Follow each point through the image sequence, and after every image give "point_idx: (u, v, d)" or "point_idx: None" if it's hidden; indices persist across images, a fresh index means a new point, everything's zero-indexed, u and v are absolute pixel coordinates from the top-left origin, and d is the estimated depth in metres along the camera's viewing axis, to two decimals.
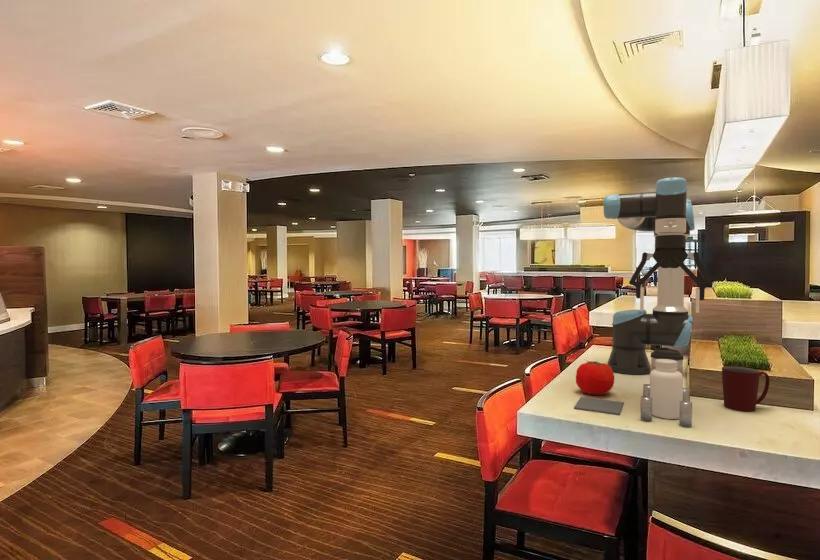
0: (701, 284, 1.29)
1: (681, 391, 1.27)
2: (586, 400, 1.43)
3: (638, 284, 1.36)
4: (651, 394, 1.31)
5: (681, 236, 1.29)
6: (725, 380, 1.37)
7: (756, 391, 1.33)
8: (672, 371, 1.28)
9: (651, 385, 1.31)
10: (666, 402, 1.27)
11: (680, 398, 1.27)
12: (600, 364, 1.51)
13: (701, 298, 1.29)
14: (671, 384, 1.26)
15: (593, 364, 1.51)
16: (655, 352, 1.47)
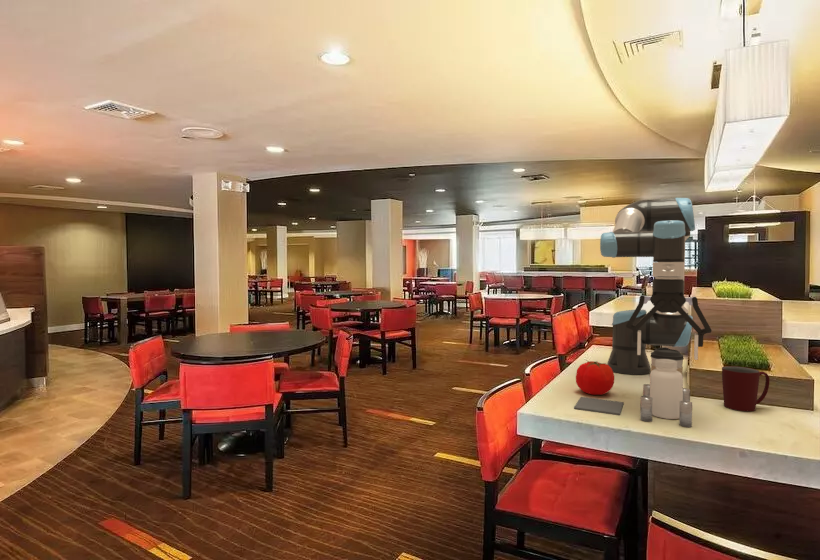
0: (700, 330, 1.25)
1: (681, 391, 1.27)
2: (586, 400, 1.43)
3: (635, 328, 1.32)
4: (651, 394, 1.31)
5: (679, 281, 1.26)
6: (725, 380, 1.37)
7: (756, 391, 1.33)
8: (672, 371, 1.28)
9: (651, 385, 1.31)
10: (666, 402, 1.27)
11: (680, 398, 1.27)
12: (600, 364, 1.51)
13: (700, 345, 1.26)
14: (671, 384, 1.26)
15: (593, 364, 1.51)
16: (655, 352, 1.47)
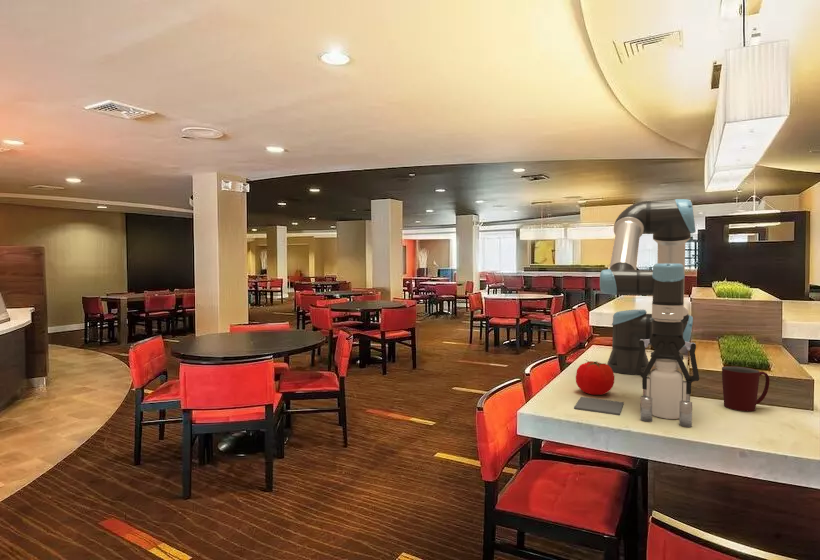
0: (688, 378, 1.27)
1: (681, 391, 1.27)
2: (586, 400, 1.43)
3: (644, 375, 1.32)
4: (651, 394, 1.31)
5: (678, 324, 1.26)
6: (725, 380, 1.37)
7: (756, 391, 1.33)
8: (672, 371, 1.28)
9: (651, 385, 1.31)
10: (666, 402, 1.27)
11: (680, 398, 1.27)
12: (600, 364, 1.51)
13: (688, 392, 1.27)
14: (671, 384, 1.26)
15: (593, 364, 1.51)
16: None
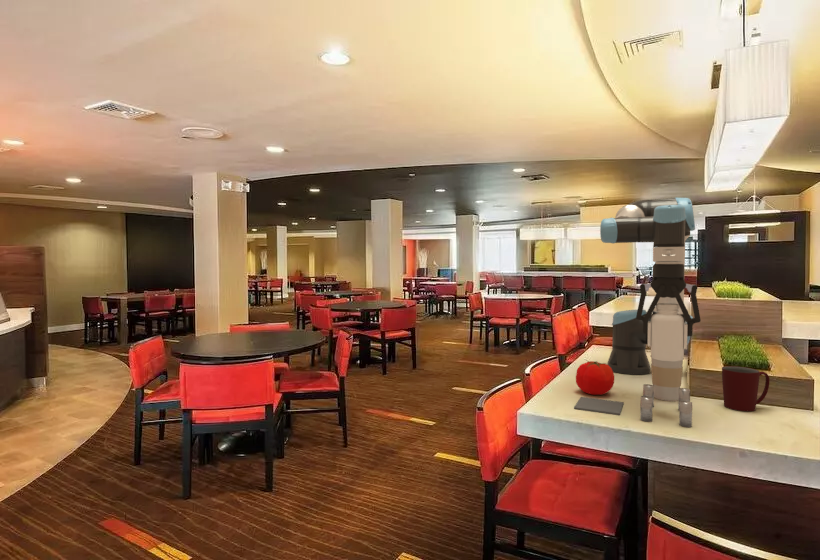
0: (689, 320, 1.26)
1: (682, 333, 1.27)
2: (586, 400, 1.43)
3: (645, 319, 1.31)
4: (652, 338, 1.30)
5: (679, 265, 1.26)
6: (725, 380, 1.37)
7: (756, 391, 1.33)
8: (673, 313, 1.27)
9: (652, 329, 1.30)
10: (667, 344, 1.27)
11: (681, 340, 1.27)
12: (600, 364, 1.51)
13: (689, 334, 1.27)
14: (672, 326, 1.26)
15: (593, 364, 1.51)
16: None
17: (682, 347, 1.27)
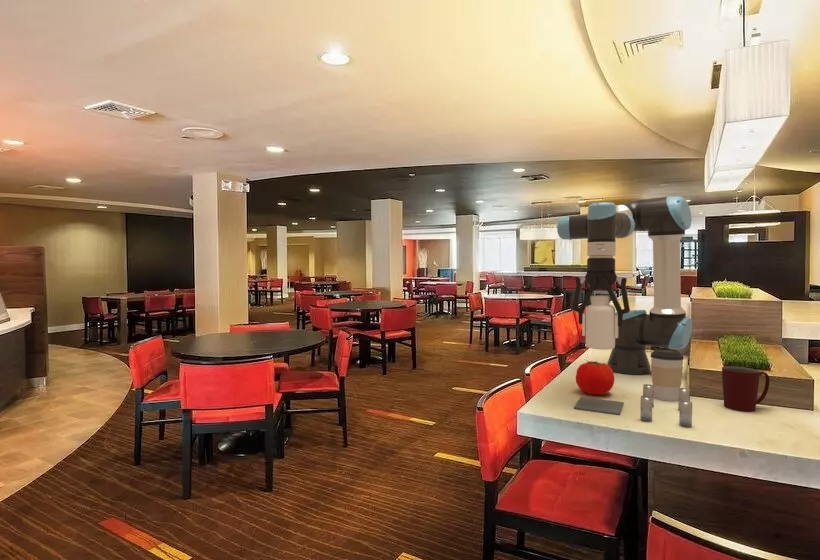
0: (619, 311, 1.34)
1: (613, 323, 1.35)
2: (586, 400, 1.43)
3: (580, 310, 1.39)
4: (586, 327, 1.38)
5: (610, 259, 1.34)
6: (725, 380, 1.37)
7: (756, 391, 1.33)
8: (605, 304, 1.35)
9: (586, 319, 1.38)
10: (598, 333, 1.34)
11: (612, 330, 1.34)
12: (600, 364, 1.51)
13: (619, 324, 1.35)
14: (603, 316, 1.34)
15: (593, 364, 1.51)
16: (655, 352, 1.47)
17: (613, 336, 1.35)
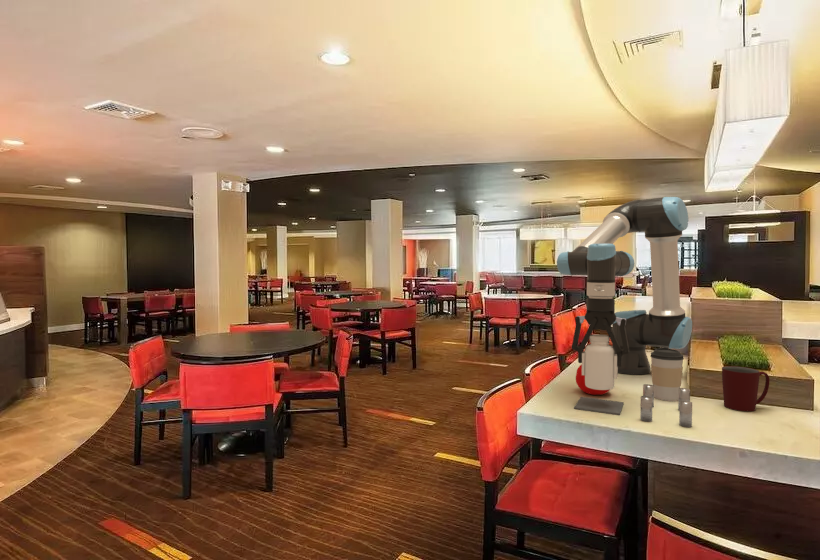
0: (619, 351, 1.35)
1: (612, 364, 1.35)
2: (586, 400, 1.43)
3: (580, 349, 1.40)
4: (585, 367, 1.38)
5: (609, 300, 1.34)
6: (725, 380, 1.37)
7: (756, 391, 1.33)
8: (604, 345, 1.36)
9: (585, 359, 1.38)
10: (598, 374, 1.35)
11: (611, 370, 1.35)
12: None
13: (618, 365, 1.35)
14: (602, 357, 1.34)
15: None
16: (655, 352, 1.47)
17: (612, 377, 1.35)
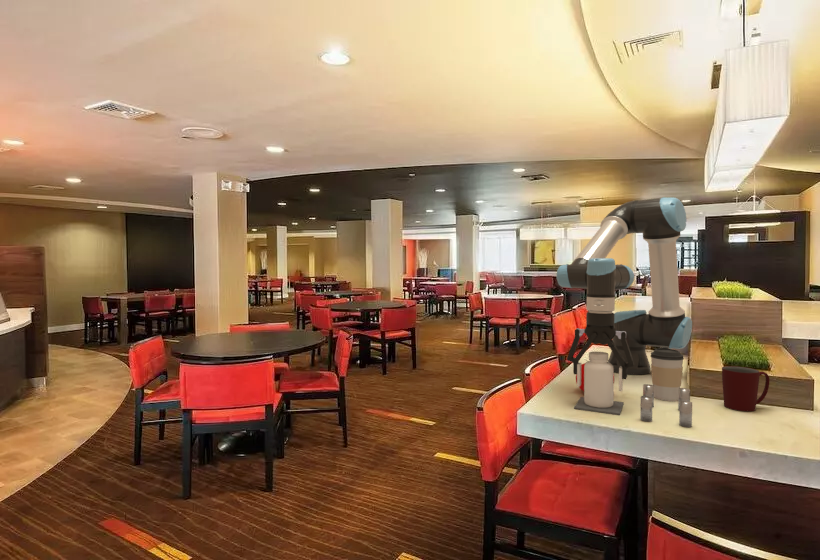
0: (623, 364, 1.34)
1: (611, 381, 1.35)
2: None
3: (575, 361, 1.40)
4: (585, 384, 1.39)
5: (609, 315, 1.34)
6: (725, 380, 1.37)
7: (756, 391, 1.33)
8: (603, 363, 1.36)
9: (584, 376, 1.39)
10: (597, 392, 1.35)
11: (610, 388, 1.35)
12: None
13: (623, 377, 1.35)
14: (601, 375, 1.35)
15: None
16: (655, 352, 1.47)
17: (611, 394, 1.36)
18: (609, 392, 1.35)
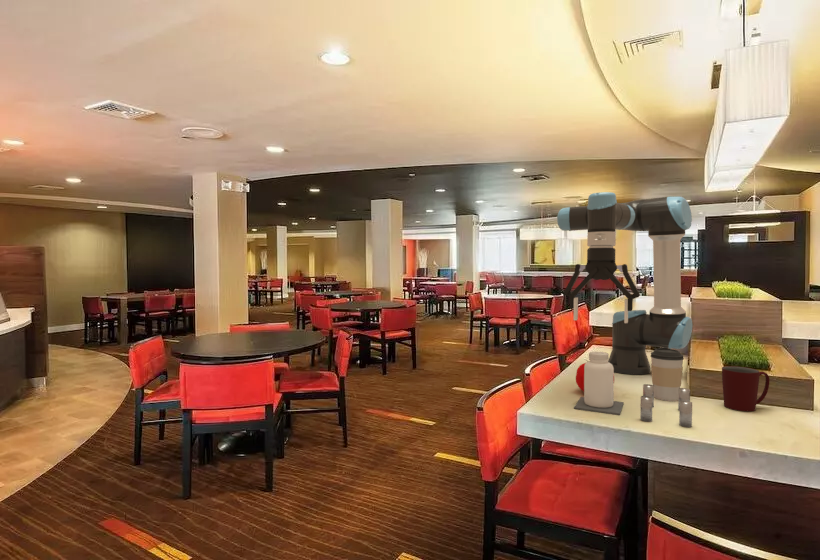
0: (629, 295, 1.33)
1: (611, 381, 1.36)
2: None
3: (571, 295, 1.40)
4: (585, 384, 1.39)
5: (610, 249, 1.34)
6: (725, 380, 1.37)
7: (756, 391, 1.33)
8: (603, 363, 1.36)
9: (585, 376, 1.39)
10: (597, 391, 1.35)
11: (610, 388, 1.35)
12: None
13: (629, 309, 1.33)
14: (601, 375, 1.35)
15: None
16: (655, 352, 1.47)
17: (611, 394, 1.36)
18: (609, 392, 1.35)
